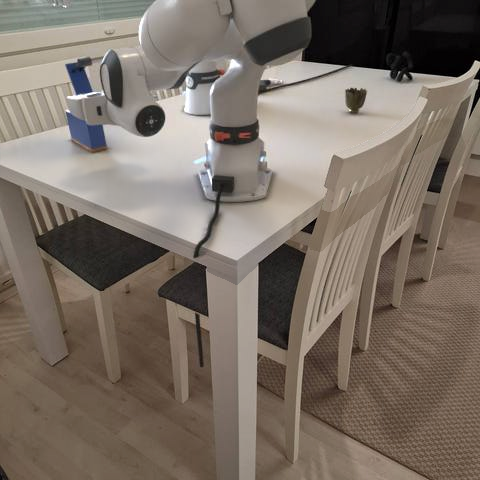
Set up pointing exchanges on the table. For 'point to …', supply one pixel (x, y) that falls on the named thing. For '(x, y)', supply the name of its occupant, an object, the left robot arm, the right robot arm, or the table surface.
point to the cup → (355, 99)
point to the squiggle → (399, 66)
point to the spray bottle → (268, 83)
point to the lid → (80, 75)
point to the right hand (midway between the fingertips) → (100, 94)
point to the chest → (86, 133)
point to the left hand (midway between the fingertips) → (62, 5)
